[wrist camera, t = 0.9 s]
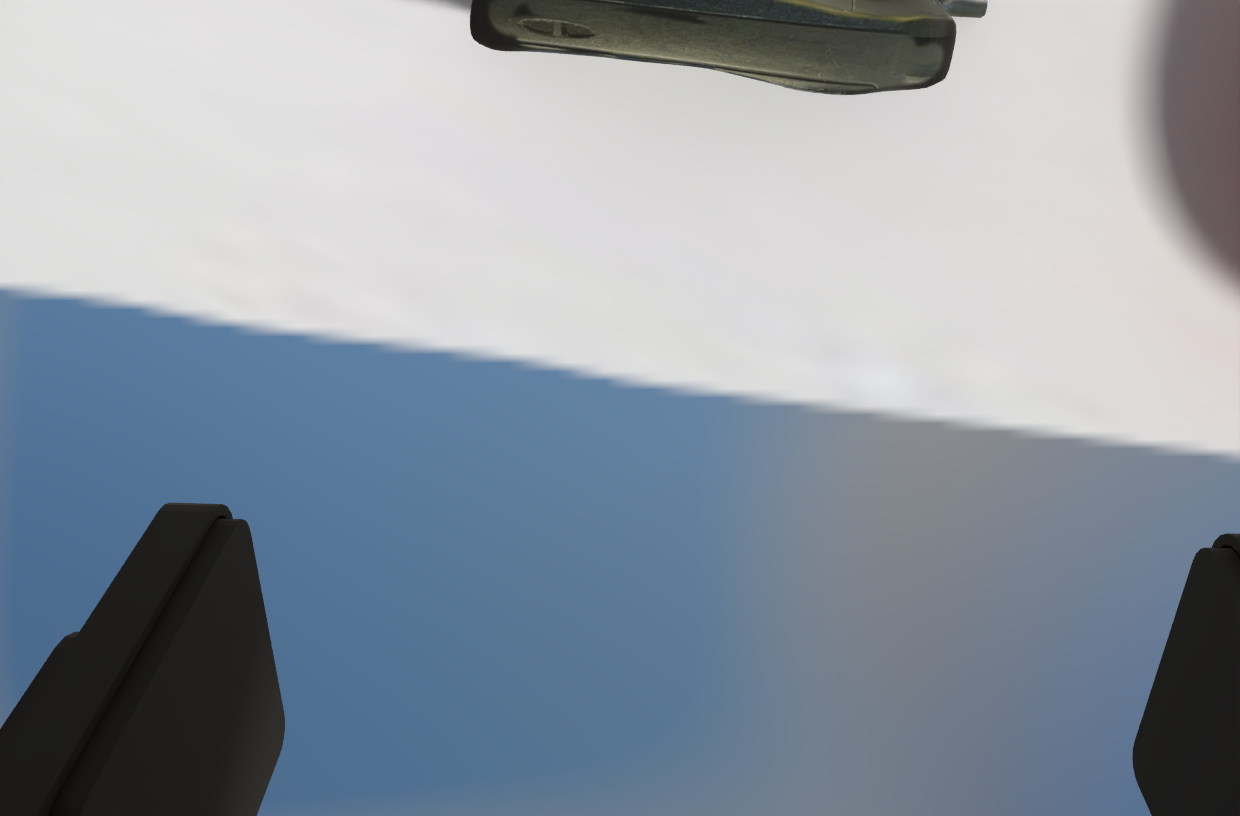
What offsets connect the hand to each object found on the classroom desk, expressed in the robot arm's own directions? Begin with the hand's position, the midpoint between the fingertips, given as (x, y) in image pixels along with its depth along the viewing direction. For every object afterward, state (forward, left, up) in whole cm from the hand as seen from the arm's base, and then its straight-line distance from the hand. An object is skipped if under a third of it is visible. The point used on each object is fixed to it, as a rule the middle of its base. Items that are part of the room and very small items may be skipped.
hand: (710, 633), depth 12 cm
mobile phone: (-2, 0, -28) cm, 29 cm away
